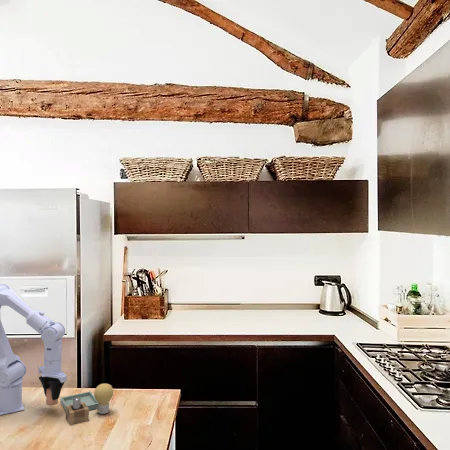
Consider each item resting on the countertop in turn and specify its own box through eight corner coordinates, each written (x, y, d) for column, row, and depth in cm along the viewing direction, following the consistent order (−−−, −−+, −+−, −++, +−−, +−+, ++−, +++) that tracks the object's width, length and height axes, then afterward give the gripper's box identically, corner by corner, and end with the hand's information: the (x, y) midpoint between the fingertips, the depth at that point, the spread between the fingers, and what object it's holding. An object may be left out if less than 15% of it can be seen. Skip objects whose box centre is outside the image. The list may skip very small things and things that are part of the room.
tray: (60, 402, 152) (60, 397, 152) (90, 395, 159) (90, 391, 159) (68, 415, 143) (68, 410, 142) (100, 408, 149) (100, 403, 149)
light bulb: (114, 408, 149) (115, 380, 148) (110, 416, 142) (110, 387, 142) (96, 408, 148) (97, 380, 148) (91, 416, 142) (92, 387, 142)
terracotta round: (45, 402, 146) (45, 388, 146) (56, 399, 148) (56, 385, 148) (47, 406, 143) (47, 391, 143) (59, 403, 145) (59, 389, 145)
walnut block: (65, 417, 141) (65, 406, 141) (83, 413, 144) (83, 401, 144) (70, 425, 136) (70, 413, 136) (88, 420, 139) (88, 408, 139)
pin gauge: (71, 418, 140) (71, 398, 140) (78, 416, 142) (78, 396, 142) (74, 421, 139) (74, 400, 138) (81, 419, 140) (81, 398, 140)
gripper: (30, 357, 146) (30, 395, 146) (53, 366, 138) (53, 407, 138) (49, 352, 152) (48, 389, 152) (72, 361, 143) (71, 400, 143)
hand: (52, 397), depth 145 cm, fingers closed on terracotta round, 4 cm apart
